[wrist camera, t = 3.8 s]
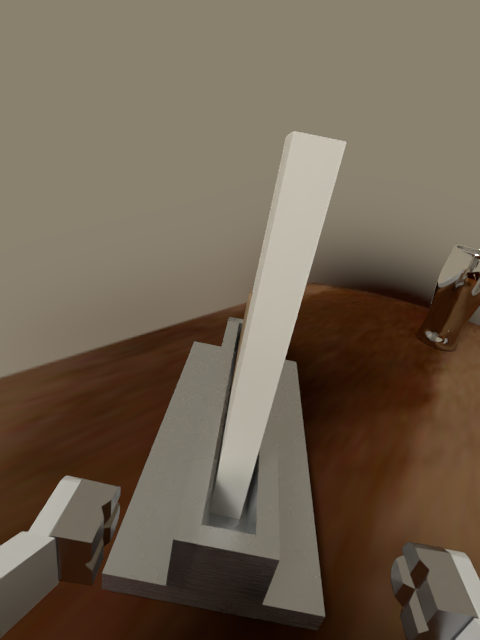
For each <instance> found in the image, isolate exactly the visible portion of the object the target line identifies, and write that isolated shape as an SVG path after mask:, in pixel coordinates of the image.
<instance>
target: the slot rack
mask: <svg viewBox="0 0 480 640" xmlns="http://www.w3.org/2000/svg"><path fill="white" fill-rule="evenodd" d="M242 325H243V319H238V318H233V317H229V319H228V323H227V327H226V331H225V335H224V339H223V343H222V347H219V346H214V345H209V344H204V343H199V342H194V344H193V346H192V349H191V351H190V354H189V356H188V359H187V361H186V364H185V366H184V369H183V371H182V374H181V376H180V379H179V382H178V384H177V387H176V389H175V392H174V394H173V397H172V399H171V402H170V404H169V407H168V409H167V412H166V414H165V417H164V419H163V422H162V424H161V427H160V429H159V432H158V434H157V437H156V439H155V442H154V444H153V447H152V449H151V452H150V454H149V457H148V459H147V462H146V464H145V467H144V469H143V472H142V474H141V477H140V479H139V482H138V485H137V487H136V490H135V492H134V495H133V497H132V500H131V502H130V505H129V507H128V510H127V512H126V515H125V517H124V520H123V522H122V525H121V527H120V530H119V532H118V535H117V537H116V540H115V542H114V545H113V547H112V550H111V552H110V555H109V557H108V560H107V562H106V565H105V567H104V570H103V572H102V589H105V590H110V591H115V592H120V593H125V594H131V595H136V596H141V597H146V598H151V599H156V600H161V601H167V602H172V603H177V604H182V605H187V606H192V607H197V608H203V609H208V610H213V611H218V612H223V613H228V614H233V615H239V616H244V617H249V618H254V619H259V620H264V621H269V622H275V623H280V624H285V625H290V626H295V627H300V628H305V629H311V630H316V631H318V629H319V627H320V625H321V624H322V622H323V620H324V618H325V610H324V601H323V592H322V583H321V574H320V566H319V557H318V548H317V539H316V530H315V522H314V513H313V504H312V495H311V486H310V478H309V469H308V460H307V451H306V442H305V434H304V425H303V416H302V407H301V398H300V390H299V381H298V372H297V363H296V362H294V361H289V360H285V361H284V364H283V368H282V371H281V375H280V378H279V382H278V385H277V389H276V392H275V396H274V399H273V403H272V407H271V410H270V414H269V417H268V421H267V424H266V428H265V431H264V435H263V438H262V442H261V445H260V449H259V452H258V456H257V459H256V463H255V466H254V470H253V473H252V477H251V481H250V484H249V488H248V491H247V495H246V498H245V502H244V505H243V509H242V512H241V516H240V519H236V518H231V517H226V516H221V515H216V514H211V513H209V510H210V504H211V498H212V492H213V486H214V481H215V475H216V469H217V463H218V457H219V452H220V446H221V440H222V434H223V428H224V423H225V416H226V411H227V405H228V399H229V393H230V387H231V382H232V376H233V370H234V364H235V359H236V354H237V349H238V344H239V339H240V335H241V330H242Z"/></svg>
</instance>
